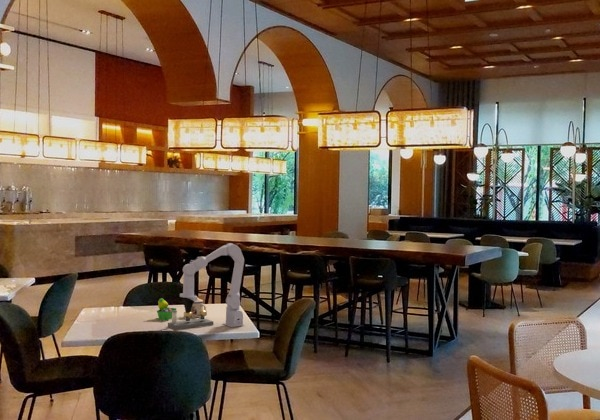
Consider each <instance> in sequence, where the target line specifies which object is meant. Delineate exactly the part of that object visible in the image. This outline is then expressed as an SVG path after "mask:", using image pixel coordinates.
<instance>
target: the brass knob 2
mask: <svg viewBox="0 0 600 420" xmlns="http://www.w3.org/2000/svg"><path fill="white" fill-rule="evenodd" d="M207 313H208V312H207V309H206V310H204V309H203V310H199V311H198V315H199V316H200V317H199V319H206V318H205V316H207Z"/></svg>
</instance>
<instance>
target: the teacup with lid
mask: <svg viewBox="0 0 600 420" xmlns="http://www.w3.org/2000/svg"><path fill="white" fill-rule="evenodd" d="M195 296H196V297H197V301H194V303H193V305H192V308H191V312H192V317H191V318H193V319H194V318H196V319H198V318H200V316H199V315H198V311H199V310H206V311H207V306H206V305H205V304H204V299H201V298H199V297H198V296H197V295H195Z"/></svg>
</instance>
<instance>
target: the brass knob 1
mask: <svg viewBox="0 0 600 420" xmlns="http://www.w3.org/2000/svg"><path fill="white" fill-rule="evenodd" d="M183 318H185V321H190V320H191V318H193V317H192V312H190V313H186V311H184V312H183Z"/></svg>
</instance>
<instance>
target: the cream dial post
mask: <svg viewBox="0 0 600 420" xmlns="http://www.w3.org/2000/svg"><path fill="white" fill-rule="evenodd" d="M177 313H178V310H177V309H176V310H172V319H171V322H172V324H176V322H177V320H178V319H177V318H178V316H177Z"/></svg>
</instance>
